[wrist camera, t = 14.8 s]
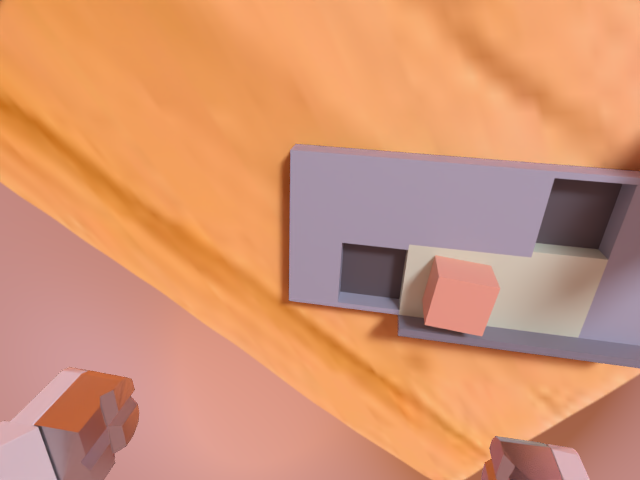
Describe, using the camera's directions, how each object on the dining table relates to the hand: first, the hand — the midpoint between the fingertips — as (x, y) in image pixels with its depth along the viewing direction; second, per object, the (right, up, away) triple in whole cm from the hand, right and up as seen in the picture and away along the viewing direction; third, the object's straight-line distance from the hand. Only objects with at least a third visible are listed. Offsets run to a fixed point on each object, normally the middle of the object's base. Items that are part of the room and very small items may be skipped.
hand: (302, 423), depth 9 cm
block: (+12, +1, +26) cm, 28 cm away
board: (+13, +4, +26) cm, 29 cm away
